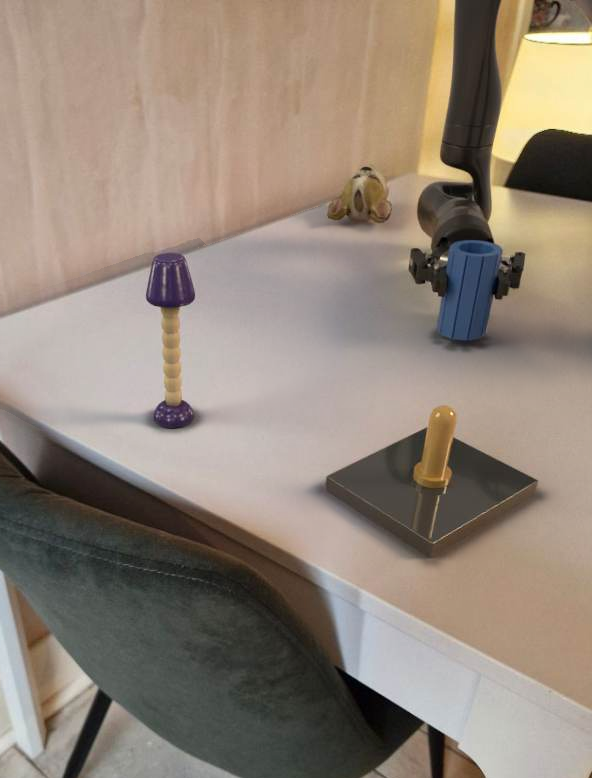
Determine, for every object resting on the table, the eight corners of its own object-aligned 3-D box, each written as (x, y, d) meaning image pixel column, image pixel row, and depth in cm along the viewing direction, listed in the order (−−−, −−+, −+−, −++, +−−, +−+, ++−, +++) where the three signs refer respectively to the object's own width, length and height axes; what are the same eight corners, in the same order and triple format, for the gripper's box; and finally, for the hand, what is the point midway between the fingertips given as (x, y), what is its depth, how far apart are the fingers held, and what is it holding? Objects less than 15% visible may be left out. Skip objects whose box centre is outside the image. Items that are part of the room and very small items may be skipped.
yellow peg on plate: (428, 438, 75) (442, 358, 70) (534, 494, 67) (560, 408, 62) (324, 489, 68) (332, 405, 63) (429, 558, 61) (448, 468, 56)
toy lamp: (157, 404, 81) (147, 247, 71) (200, 406, 81) (196, 248, 71) (150, 428, 78) (138, 265, 67) (196, 429, 77) (190, 266, 67)
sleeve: (456, 317, 96) (471, 236, 90) (495, 332, 92) (513, 248, 86) (426, 329, 93) (439, 247, 87) (465, 344, 89) (481, 259, 83)
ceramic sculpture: (403, 155, 131) (392, 183, 120) (398, 207, 137) (386, 237, 126) (342, 153, 134) (325, 180, 123) (339, 203, 139) (322, 233, 129)
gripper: (409, 211, 99) (411, 254, 86) (525, 215, 97) (546, 260, 83) (402, 269, 104) (402, 318, 90) (512, 273, 101) (530, 324, 88)
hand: (471, 290), depth 87 cm, fingers closed on sleeve, 5 cm apart
